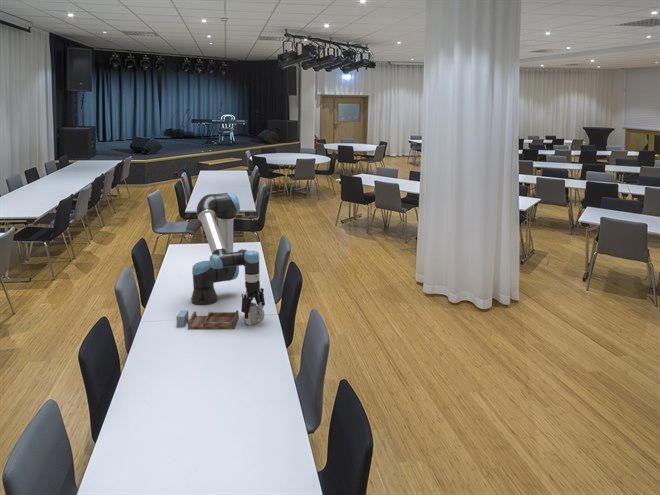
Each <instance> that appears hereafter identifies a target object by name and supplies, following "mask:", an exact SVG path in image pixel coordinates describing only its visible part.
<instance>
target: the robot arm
mask: <svg viewBox="0 0 660 495" xmlns="http://www.w3.org/2000/svg"><path fill="white" fill-rule="evenodd" d="M240 211H241V205H240V200H239V198H238V196H237V195H236V193H234V192H224V193H209V194H207V195H204V196H203V197H202V198H200V200H199V202H198V203H197V206H196V216H197V219H198V221H199V222H201V225H202V228H203V231H204V234H205V236H206V240H207V244H208V246H209V249H210V252H211V255H210V256H209V260H201V261H198V262H196V263H195V264H194V265H193V266H192V270H191V271H192V272H191V273H192V283H193V285H192V286H193V290H192V293H191V297H190V301H191V303H192V304H193V305H196V306H207V305H211V304H215V303H216V302H217V301H218V294H217V292H216V289H215V287H214V286H215V285H214V284H215V283H221V282H231V281H233V280H236V279H237V278H238V276H239V274H240V266H243V267H244V280H245V282H244V284H245V285H244V286H245V290H246V291H245V293H241V313H243V314H244V313H245V318H246V323H245V324H246V325H251V324H250V312H249V309H250V305H251V302H252V301H253V300H255V302H256V304H257V306H258V304H259V303H260V302H261V304H262V307H263V308H264V306H266V303H265V294H264V291H265V289H264V288H263V287H261V281H260V274H261V273H260V254H259V252H258V250H248V249H244V248H241V249H239V250H237V251H234V220H235V219H236V218H237V214H238V213H240ZM216 219H217V221H216ZM257 315H259V316H261V311H260V310H259V309H258V308H257Z"/></svg>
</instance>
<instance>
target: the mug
mask: <svg viewBox="0 0 660 495" xmlns="http://www.w3.org/2000/svg"><path fill="white" fill-rule="evenodd" d="M257 308H258V309H259V310H260V311H261V316H259V315H257ZM249 312H250V325H255V324H257V323H258V322H259V321H260V322H263V321H264V319H265V310H264V307H262V304H261V302H260V303H259V304H258V305H257V303H255V302H252V301H251V305H250V309H249ZM243 314H244V317H243V321H244V323H245V324H246V318H245V313H243Z"/></svg>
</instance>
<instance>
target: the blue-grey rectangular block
mask: <svg viewBox="0 0 660 495" xmlns="http://www.w3.org/2000/svg"><path fill="white" fill-rule="evenodd" d="M175 317H176V318H175V320H176V321H175V322H176V327H177V328H186V325H188V321H189V319H190V316H189V310H183V309H181V310H179V312H178V313H177V315H176V316H175Z"/></svg>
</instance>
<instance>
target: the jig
mask: <svg viewBox="0 0 660 495" xmlns="http://www.w3.org/2000/svg"><path fill="white" fill-rule="evenodd" d="M239 319H240V317H239V310H235V311H232V312H231V311H230V312H229V311H226V312H225V311H224V312H223V311H220V312H219V311H216V312H215V311H214V312H213V311H212V312H211V311H209V312H208V313H207V315H197V311H193V312H192V314H191V315H190V316H189V321H188V323H187V330H235V329H236V327H237V324H238V322H239Z"/></svg>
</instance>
